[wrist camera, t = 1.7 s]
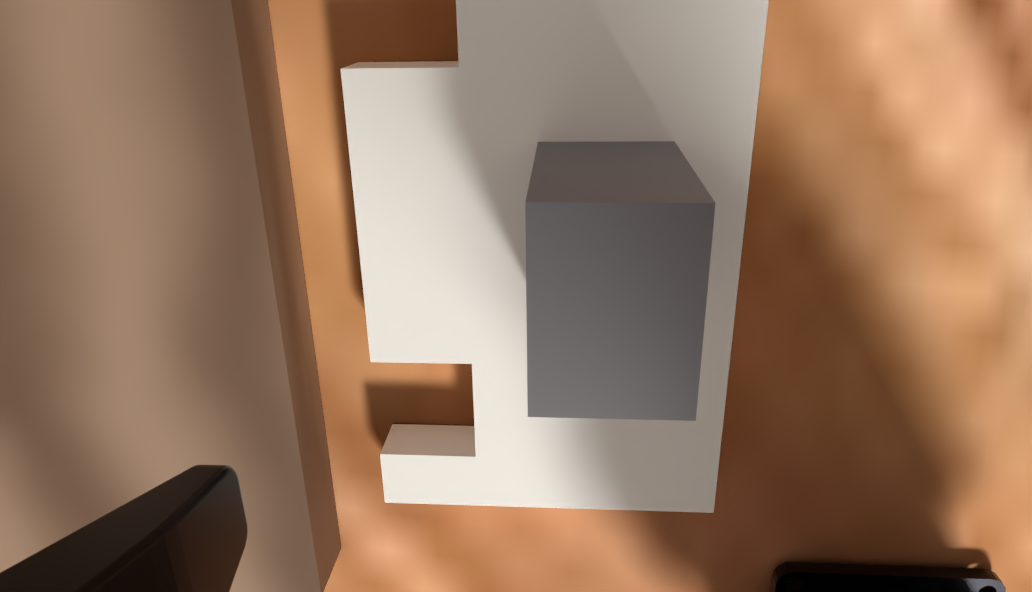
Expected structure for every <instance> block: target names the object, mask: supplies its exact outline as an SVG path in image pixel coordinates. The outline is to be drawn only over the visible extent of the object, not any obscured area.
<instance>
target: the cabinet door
mask: <svg viewBox="0 0 1032 592" xmlns="http://www.w3.org/2000/svg"><path fill="white" fill-rule="evenodd" d="M768 2H769V0H456V15H457V38H458V61H414V62H357V63H355V64H352V65H349V66H346V67H344V68H341V69H340V70H341V79H342V89H343V99H344V109H345V118H346V128H347V138H348V147H349V157H350V167H351V177H352V186H353V196H354V206H355V216H356V225H357V235H358V245H359V255H360V264H361V274H362V284H363V293H364V303H365V313H366V323H367V332H368V342H369V352H370V362H393V363H449V364H472V382H473V405H474V426H456V425H414V424H392V426H391V428H390V431H389V433H388V436H387V438H386V441H385V443H384V446H383V448H382V451H381V453H380V459H381V469H382V478H383V488H384V498H385V503H415V504H447V505H479V506H511V507H543V508H575V509H607V510H639V511H671V512H703V513H714V504H715V495H716V486H717V476H718V467H719V458H720V449H721V439H722V430H723V421H724V411H725V402H726V393H727V383H728V374H729V365H730V355H731V346H732V337H733V328H734V318H735V309H736V300H737V290H738V281H739V272H740V262H741V253H742V244H743V234H744V225H745V216H746V207H747V197H748V188H749V179H750V169H751V160H752V151H753V141H754V132H755V123H756V113H757V104H758V95H759V86H760V76H761V67H762V58H763V48H764V39H765V30H766V20H767V11H768Z"/></svg>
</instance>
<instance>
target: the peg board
mask: <svg viewBox="0 0 1032 592" xmlns="http://www.w3.org/2000/svg"><path fill="white" fill-rule="evenodd" d="M195 465H228V466H230V467H232V468H233V469H235V471H236V473H237V476H238V479H239V484H240V489H241V494H242V499H243V504H244V509H245V514H246V519H247V525H248V534H247V541H246V545H245V549H244V552H243V555H242V557H241V560H240V563H239V566H238V569H237V572H236V574H235V577H234V580H233V583H232V586H231V589H230V592H323V591H324V589H325V586H326V584H327V581H328V579H329V577H330V574H331V572H332V569H333V567H334V564H335V562H336V559H337V557H338V555H339V552H340V550H341V542H340V535H339V527H338V520H337V512H336V505H335V498H334V490H333V483H332V475H331V468H330V460H329V453H328V445H327V438H326V431H325V423H324V416H323V408H322V401H321V393H320V386H319V379H318V371H317V364H316V356H315V349H314V341H313V334H312V326H311V319H310V312H309V304H308V297H307V289H306V282H305V274H304V267H303V260H302V252H301V245H300V237H299V230H298V222H297V215H296V208H295V200H294V193H293V185H292V178H291V170H290V163H289V155H288V148H287V141H286V133H285V126H284V118H283V111H282V103H281V96H280V89H279V81H278V74H277V66H276V59H275V51H274V44H273V36H272V29H271V22H270V14H269V7H268V0H0V572H2V571H4V570H6V569H8V568H9V567H11V566H13V565H15V564H17V563H19V562H20V561H22V560H24V559H26V558H28V557H29V556H31V555H33V554H35V553H37V552H39V551H40V550H42V549H44V548H46V547H48V546H49V545H51V544H53V543H55V542H57V541H58V540H60V539H62V538H64V537H66V536H68V535H69V534H71V533H73V532H75V531H77V530H78V529H80V528H82V527H84V526H86V525H87V524H89V523H91V522H93V521H95V520H97V519H98V518H100V517H102V516H104V515H106V514H107V513H109V512H111V511H113V510H115V509H116V508H118V507H120V506H122V505H124V504H126V503H127V502H129V501H131V500H133V499H135V498H136V497H138V496H140V495H142V494H144V493H146V492H147V491H149V490H151V489H153V488H155V487H156V486H158V485H160V484H162V483H164V482H165V481H167V480H169V479H171V478H173V477H175V476H176V475H178V474H180V473H182V472H184V471H185V470H187V469H189V468H191V467H193V466H195Z"/></svg>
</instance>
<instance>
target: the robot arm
mask: <svg viewBox="0 0 1032 592" xmlns="http://www.w3.org/2000/svg"><path fill="white" fill-rule="evenodd" d="M247 534H248V525H247V519H246V514H245V509H244V504H243V499H242V494H241V489H240V484H239V479H238V476H237V473H236V471H235V469H233V468H232V467H230V466H228V465H195V466H193V467H191V468H189V469H187V470H185V471H184V472H182V473H180V474H178V475H176V476H175V477H173V478H171V479H169V480H167V481H165V482H164V483H162V484H160V485H158V486H156V487H155V488H153V489H151V490H149V491H147V492H146V493H144V494H142V495H140V496H138V497H136V498H135V499H133V500H131V501H129V502H127V503H126V504H124V505H122V506H120V507H118V508H116V509H115V510H113V511H111V512H109V513H107V514H106V515H104V516H102V517H100V518H98V519H97V520H95V521H93V522H91V523H89V524H87V525H86V526H84V527H82V528H80V529H78V530H77V531H75V532H73V533H71V534H69V535H68V536H66V537H64V538H62V539H60V540H58V541H57V542H55V543H53V544H51V545H49V546H48V547H46V548H44V549H42V550H40V551H39V552H37V553H35V554H33V555H31V556H29V557H28V558H26V559H24V560H22V561H20V562H19V563H17V564H15V565H13V566H11V567H9V568H8V569H6V570H4V571H2V572H0V592H230V589H231V586H232V583H233V580H234V577H235V574H236V572H237V569H238V566H239V563H240V560H241V557H242V555H243V552H244V549H245V545H246V541H247ZM793 578H795V579H796V580H794V581H791V582H787V581H788V580H789V579H793ZM984 586H986V587H985V588H983V589H981V588H982V587H984ZM770 592H1005V586H1004V585H1003V583H1002V582H1001V580H1000V579H999V578H998V576H997V575H996V573H994V572H992V571H991V570H986V569H966V568H939V567H911V566H883V565H855V564H828V563H800V562H789V563H784V564H782V565H779V566H778V567H777V568H776V569H775V570H774V572H773V575H772V582H771V588H770Z"/></svg>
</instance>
